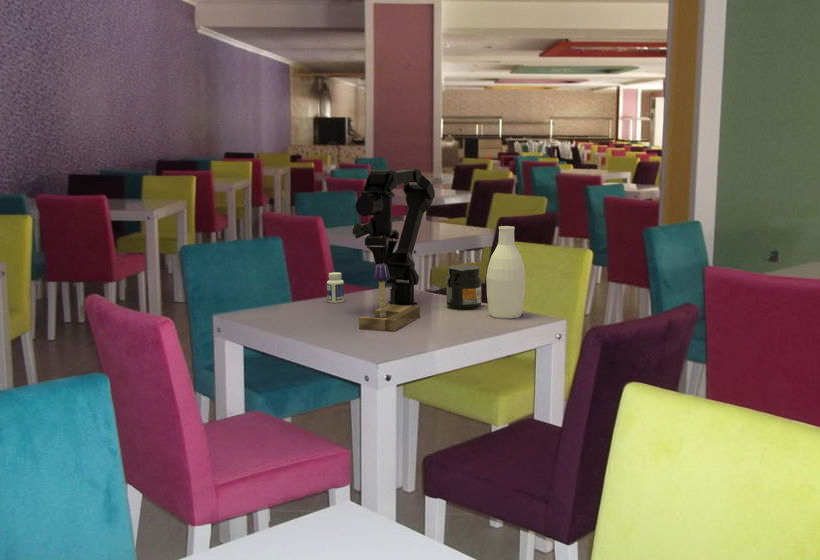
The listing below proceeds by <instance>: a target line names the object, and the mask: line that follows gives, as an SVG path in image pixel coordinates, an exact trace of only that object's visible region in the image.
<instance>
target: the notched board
mask: <svg viewBox="0 0 820 560" xmlns="http://www.w3.org/2000/svg"><path fill="white" fill-rule="evenodd" d="M385 308H386V318H380V307H379V308H376V309H375V310H374V317H373V316H360V317H358V329H359V330H368V331H382V332H396V331H397V330H399V329H401V328H403V327H404V326H406V325H409V324H410V323H412V322H413V321H415V320H417V319H418V318H420V317H421V306H419V305H418V306H417V305H395V304H390V303H386V307H385Z"/></svg>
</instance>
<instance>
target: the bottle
mask: <svg viewBox="0 0 820 560" xmlns="http://www.w3.org/2000/svg"><path fill="white" fill-rule="evenodd" d="M498 230H499V231H498V244H497V246H496V248H495V250H494V251H493V253H492V254H491V257H490V260H489V262H488V266H487V271H486V277H485V278H486V298H487V306H488V313H489V315H490V317H492V318H495V319H517V318H520V317H521V315H522V314H523V307H524V302H525V301H524V300H525V294H526V293H525V292H526V280H527V279H526V268H525V265H524V262H523V258H522V255H521V253H520V252H519V250H518V248H517V246H516V244H515V230H516V228H515V226H513V225H512V226H509V225H504V226H503V225H501V226H498Z"/></svg>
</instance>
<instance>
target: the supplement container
mask: <svg viewBox="0 0 820 560" xmlns="http://www.w3.org/2000/svg"><path fill="white" fill-rule="evenodd" d="M447 270H448V271H447V274H448V276H447V277H446V306H447V307H448V308H449V309H451V308H452V309H451V310H456V309H457V311H458V310H459V311H464V310H465V311H469V310H477V309H479V308H480V307H481V306H482V281H483V280H482V277H481V276H480V275H481V268H480V267H479V266H476V265H467V264H466V265H464V264H463V265H451V266H448V268H447Z"/></svg>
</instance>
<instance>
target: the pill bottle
mask: <svg viewBox="0 0 820 560" xmlns="http://www.w3.org/2000/svg"><path fill="white" fill-rule="evenodd" d="M326 300H327V303H331V304H333V303H334V304H339V303H344V302H345V282H344V280H343V279H342V272H337V271H336V272H335V271H333V272H329V273H328V280H327V282H326Z"/></svg>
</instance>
